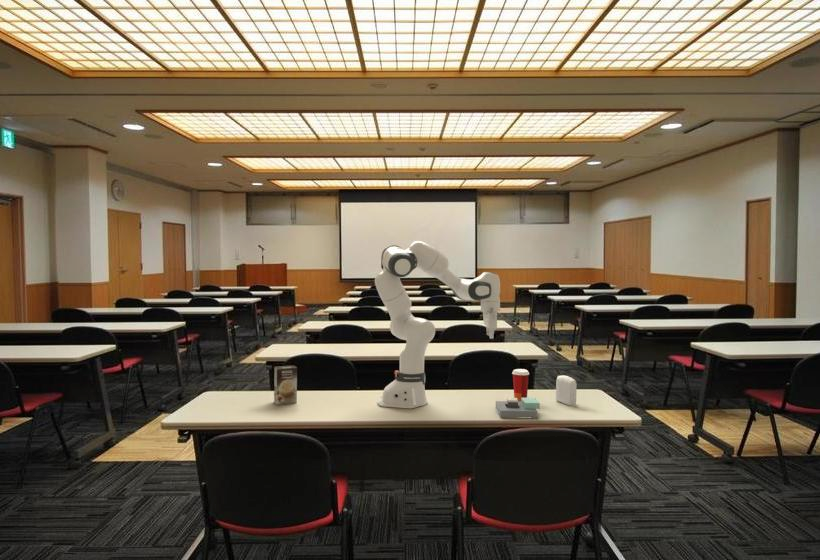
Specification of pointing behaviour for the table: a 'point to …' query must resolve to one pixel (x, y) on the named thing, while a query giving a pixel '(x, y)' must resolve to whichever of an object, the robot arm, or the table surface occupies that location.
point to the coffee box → (285, 385)
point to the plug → (512, 403)
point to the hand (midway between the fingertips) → (490, 336)
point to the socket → (514, 410)
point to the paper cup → (520, 383)
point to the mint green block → (530, 403)
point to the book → (566, 390)
